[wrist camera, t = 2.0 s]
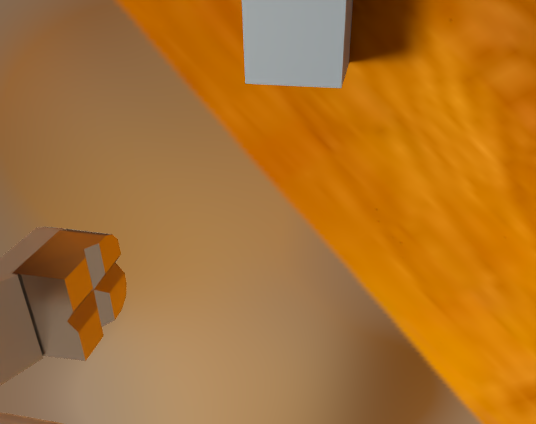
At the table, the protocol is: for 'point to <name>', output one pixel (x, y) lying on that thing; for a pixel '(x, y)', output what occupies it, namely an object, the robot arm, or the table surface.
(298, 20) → the block
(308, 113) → the table surface
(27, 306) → the robot arm
